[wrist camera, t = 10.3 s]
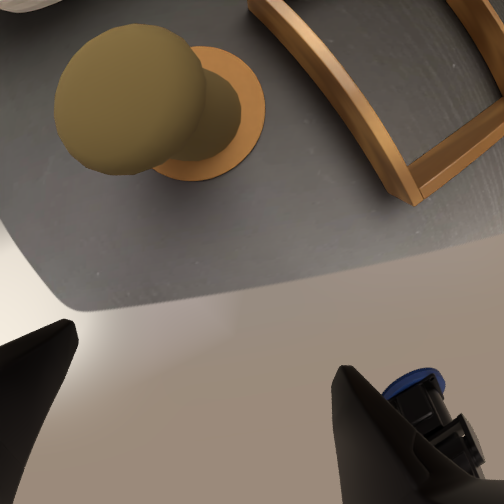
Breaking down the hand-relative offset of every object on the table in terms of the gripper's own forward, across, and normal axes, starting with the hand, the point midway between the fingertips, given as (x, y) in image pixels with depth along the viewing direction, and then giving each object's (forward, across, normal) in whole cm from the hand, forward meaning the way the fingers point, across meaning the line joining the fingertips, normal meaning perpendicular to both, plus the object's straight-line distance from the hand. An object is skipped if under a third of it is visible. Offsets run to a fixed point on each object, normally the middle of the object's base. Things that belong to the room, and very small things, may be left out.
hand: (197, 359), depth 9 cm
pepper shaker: (+12, +4, -8) cm, 14 cm away
